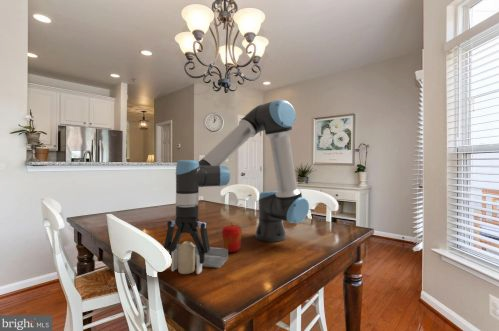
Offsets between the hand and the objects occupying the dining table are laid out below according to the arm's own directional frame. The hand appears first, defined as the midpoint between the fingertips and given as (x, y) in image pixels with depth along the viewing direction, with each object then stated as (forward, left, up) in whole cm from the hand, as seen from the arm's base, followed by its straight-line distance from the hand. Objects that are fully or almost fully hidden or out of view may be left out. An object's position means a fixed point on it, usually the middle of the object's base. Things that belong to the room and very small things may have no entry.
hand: (186, 270), depth 87 cm
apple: (-9, -23, 0) cm, 25 cm away
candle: (0, -1, 0) cm, 1 cm away
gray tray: (+2, -10, 0) cm, 10 cm away
